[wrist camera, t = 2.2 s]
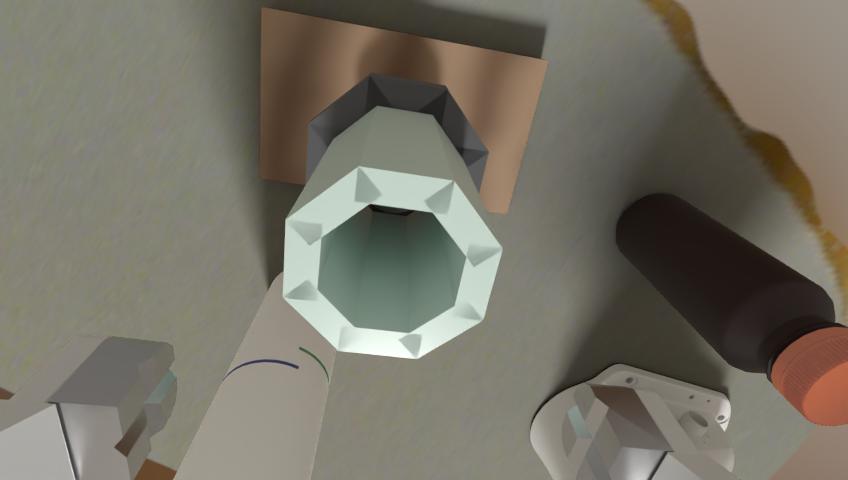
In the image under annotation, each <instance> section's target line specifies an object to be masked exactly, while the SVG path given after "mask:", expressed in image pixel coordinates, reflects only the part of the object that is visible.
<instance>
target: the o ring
mask: <svg viewBox="0 0 848 480" xmlns="http://www.w3.org/2000/svg"><path fill="white" fill-rule="evenodd" d="M377 105H378V106H382V107H388V108H394V109H400V110H406V111H412V112H418V113H424V114H430V115H433V116H434V118H435V119H436V121H437V122H438V123H439V125H440V126H441V128H442V129H443V131H444V132H445V134H446V135H447V137H448V138H449V140H450V141H451V142H452V144H453V145H454V147H455V148H456V150H457V151H458V153H459V154H460V156H461V157H462V158H463V160H464V162H465V164H466V167H467V169H468V171H469V173H470V176H471V178H472V180H473V182H474V185H475V187H476V189H477V191H478V194H479V192H480V188H481V183H482V179H483V175H484V171H485V167H486V162H487V158H488V154H489V151H488V150H487V148H486V147H485V145H484V144H483V143H482V141H481V139H480V138H479V136H478V135H477V133H476V132H475V130H474V129H473V127H472V126H471V124H470V123H469V121H468V120H467V118H466V116H465V115H464V113H463V112H462V110H461V109H460V107H459V106H458V104H457V103H456V101H455V100H454V98H453V97H452V95H451V94H450V92H449V90H448V88H447V87H446V86H445V85H440V84H434V83H428V82H423V81H417V80H411V79H406V78H400V77H394V76H389V75H383V74H377V73H372V72H371V73H370V74H369V75H368V76H367V77H365V78H364V79H363V80H361V81H360V82H359V83H358V84H356V85H355V86H354V87H353V88H351V89H350V90H349V91H347V92H346V93H345V94H344V95H342V96H341V97H340V98H338V99H337V100H336V101H335V102H333V103H332V104H331V105H330V106H328V107H327V108H326V109H324V110H323V111H322V112H321V113H319V114H318V115H317V116H315V117H314V118H313V119H312V120H311V121H310V122H309V128H308V145H307V163H306V180H305V186H306V184H307V182H308V181H309V179H310V177H311V176H312V174H313V172H314V171H315V169H316V167H317V166H318V164H319V162H320V161H321V159H322V157H323V156H324V154H325V152H326V151H327V149H328V147H329V145H330V144H331V142H332V140H333V139H334V138H335V137H337V136H338V135H339V134H341V133H342V132H343V131H345V130H346V129H347V128H348V127H350V126H351V125H352V124H354V123H355V122H356V121H358V120H359V119H360V118H362V117H363V116H364V115H366V114H367V113H368V112H370V111H371V110H372V109H373V108H375V107H376V106H377ZM368 207H369V208H370V209H371V210H372V211H373V212H380V213H387V214H394V215H401V216H408V215H409V214H411V213H412V212H414V211H415V210H409V211H406V212H403V213H388V212H385V211H382V210H380V209H378V208H377V207H375V206H374V205H373V204H369V205H368Z"/></svg>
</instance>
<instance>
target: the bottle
mask: <svg viewBox="0 0 848 480" xmlns="http://www.w3.org/2000/svg"><path fill="white" fill-rule="evenodd" d="M616 242H617V244H618V247H619V249H620V251H621V252H622V253H623V254H624V255H625V256H626V257H627V259H628V260H629V261H630V262H631V263H632V264H633V265H634V266H635V267H636V268H637V269H638V270H639V271H640V272H641V273H642V274H643V275H644V276H645V277H646V278H647V279H648V280H649V282H650V283H651V284H652V285H653V286H654V287H655V288H656V289H657V290H658V291H659V292H660V293H661V294H662V295H663V296H664V297H665V298H666V299H667V300H668V301H669V302H670V303H671V305H672V306H673V307H674V308H675V309H676V310H677V311H678V312H679V313H680V314H681V315H682V316H683V317H684V318H685V319H686V320H687V321H688V322H689V323H690V324H691V325H692V326H693V328H694V329H695V330H696V331H697V332H698V333H699V334H700V335H701V336H702V337H703V338H704V339H705V340H706V341H707V342H708V343H709V344H710V345H711V346H712V347H713V348H714V349H715V351H716V352H717V353H718V354H719V355H720V356H721V357H722V358H723V359H724V360H725V361H726V362H727V363H728V364H729V365H731V366H733V367H735V368H738V369H740V370H743V371H745V372H751V373H766V374H767V378H768V380H769V381H770V382H771V383H772V384H773V386H774V387H775V388H776V389H777V390H778V391H779V392H780V393H781V394H782V395H783V396H784V397H785V398H786V399H787V400H788V401H789V402H790V403H791V404H792V405H793V406H794V407H795V408H796V409H797V410H798V411H799V412H800V413H801V414H802V415H803V416H804V417H805V418H806V419H807V420H809V421H810V422H812V423H815V424H818V425H822V426H823V425H825V426H838V425H844V424H848V327H846V326H844V325H842V324H840V323H835V311H834V304H833V301H832V299H831V298H830V297H829V295H828V294H827V293H826V292H825V290H824V289H823V288H822V287H820V286H819V285H817V284H816V283H814V282H812V281H811V280H809V279H808V278H806V277H805V276H803V275H801V274H800V273H798V272H797V271H795V270H793V269H792V268H790V267H789V266H787V265H786V264H784V263H782V262H781V261H779V260H778V259H776V258H774V257H773V256H771V255H770V254H768V253H766V252H765V251H763V250H762V249H760V248H759V247H757V246H755V245H754V244H752V243H751V242H749V241H747V240H746V239H744V238H743V237H741V236H739V235H738V234H736V233H735V232H733V231H732V230H730V229H728V228H727V227H725V226H724V225H722V224H720V223H719V222H717V221H716V220H714V219H712V218H711V217H709V216H708V215H706V214H705V213H703V212H701V211H700V210H698V209H697V208H695V207H693V206H692V205H690V204H689V203H687V202H685V201H684V200H682V199H680V198H678V197H676V196H674V195H669V194H655V195H650V196H647V197H645V198H643V199H641V200H639V201H636V202H635V203H634V204H633V205H632V206H631V207H629V208H628V209H627V210H626V211H625V213H624V214H623V216H622V217H621V219H620V220H619V223H618V226H617V229H616Z"/></svg>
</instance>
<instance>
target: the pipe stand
mask: <svg viewBox="0 0 848 480" xmlns="http://www.w3.org/2000/svg"><path fill="white" fill-rule="evenodd" d="M548 63H549V61H548V60H544V59H539V58H534V57H529V56H523V55H518V54H513V53H507V52H502V51H497V50H491V49H486V48H481V47H475V46H470V45H465V44H459V43H454V42H449V41H443V40H438V39H433V38H427V37H422V36H417V35H411V34H406V33H401V32H395V31H390V30H385V29H379V28H374V27H369V26H363V25H358V24H353V23H347V22H342V21H337V20H331V19H326V18H321V17H315V16H310V15H305V14H299V13H294V12H289V11H283V10H278V9H273V8H266V7H261V81H260V178H259V179H266V180H272V181H279V182H286V183H293V184H300V185H305V180H306V163H307V145H308V128H309V122H310V121H311V120H312V119H313V118H314V117H315V116H317V115H318V114H319V113H321V112H322V111H323V110H324V109H326V108H327V107H328V106H330V105H331V104H332V103H333V102H335V101H336V100H337V99H338V98H340V97H341V96H342V95H344V94H345V93H346V92H347V91H349V90H350V89H351V88H353V87H354V86H355V85H356V84H358V83H359V82H360V81H361V80H363V79H364V78H365V77H367V76H368V75H369V74H370V73H371V72H372V73H377V74H383V75H389V76H394V77H400V78H406V79H411V80H417V81H423V82H428V83H434V84H440V85H445V86H446V87H447V88H448V90H449V92H450V94H451V95H452V97H453V98H454V100H455V101H456V103H457V104H458V106H459V107H460V109H461V110H462V112H463V113H464V115H465V116H466V118H467V120H468V121H469V123H470V124H471V126H472V127H473V129H474V130H475V132H476V133H477V135H478V136H479V138H480V139H481V141H482V143H483V144H484V145H485V147H486V148H487V150H488V151H489V154H488V158H487V162H486V167H485V171H484V175H483V179H482V183H481V188H480V192H479V196H480V198H481V200H482V202H483V205H484V207H485V209H486V211H487V212H494V213H501V214H507V213H508V209H509V206H510V202H511V198H512V195H513V191H514V187H515V184H516V180H517V176H518V173H519V169H520V165H521V162H522V158H523V154H524V151H525V147H526V143H527V140H528V136H529V132H530V129H531V125H532V121H533V118H534V114H535V110H536V107H537V103H538V99H539V96H540V92H541V88H542V85H543V81H544V77H545V74H546V70H547V66H548ZM373 205H374V206H375V207H377V208H378V209H380V210H382V211H385V212H388V213H403V212H406V211H409V210H411V209H404V208H397V207H390V206H383V205H376V204H373Z"/></svg>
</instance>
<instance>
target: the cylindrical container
mask: <svg viewBox="0 0 848 480" xmlns="http://www.w3.org/2000/svg"><path fill="white" fill-rule="evenodd" d="M283 276H284V271H283V272H281V273H280V274H279V275H278V276H277V277H276V278H275V279H274V281H273V282H272V284H271V286H270V288H269V290H268V292H267V294H266V296H265V298H264V300H263V302H262V304H261V306H260V308H259V310H258V312H257V314H256V316H255V318H254V320H253V322H252V324H251V326H250V328H249V330H248V332H247V334H246V336H245V338H244V340H243V342H242V344H241V346H240V348H239V350H238V352H237V354H236V356H235V358H234V360H233V362H232V364H231V366H230V368H229V370H228V372H227V374H226V376H225V378H224V379H223V382H222V383H221V385H220V387H219V389H218V391H217V393H216V395H215V397H214V399H213V401H212V403H211V405H210V407H209V409H208V411H207V413H206V415H205V417H204V419H203V421H202V423H201V425H200V427H199V429H198V431H197V433H196V435H195V437H194V439H193V441H192V443H191V445H190V447H189V449H188V451H187V453H186V455H185V457H184V459H183V461H182V463H181V465H180V467H179V469H178V471H177V473H176V476H175V477H174V479H173V480H310V478H311V473H312V468H313V463H314V458H315V453H316V448H317V443H318V438H319V434H320V429H321V424H322V419H323V414H324V409H325V404H326V399H327V394H328V388H329V384H330V379H331V374H332V369H333V364H334V359H335V354H336V348H335V347H334V346H333V345H332V344H331V343H330V342H329V341H328V340H327V339H326V338H325V337H324V336H322V335H321V334H320V333H319V332H318V331H317V330H316V329H315V328H314V327H313V326H312V325H311V324H310V323H309V322H308V321H307V320H306V319H305V318H304V317H303V316H302V315H301V314H300V313H299V312H298V311H296V310H295V309H294V308H293V307H292V306H291V305H290V304H289V303H288V302H287V301H286V300H285V299H284V298H283V297H282V296H283Z"/></svg>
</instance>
